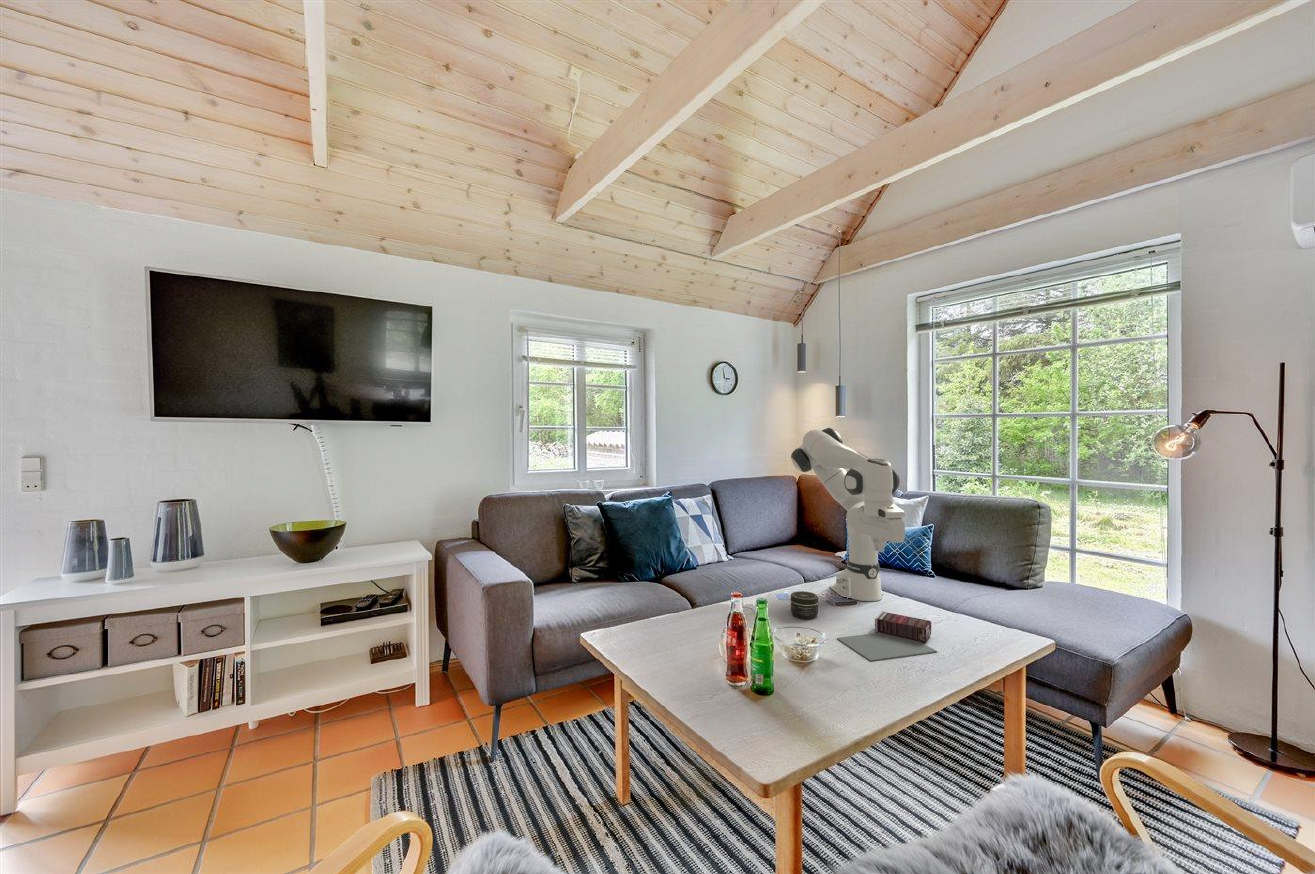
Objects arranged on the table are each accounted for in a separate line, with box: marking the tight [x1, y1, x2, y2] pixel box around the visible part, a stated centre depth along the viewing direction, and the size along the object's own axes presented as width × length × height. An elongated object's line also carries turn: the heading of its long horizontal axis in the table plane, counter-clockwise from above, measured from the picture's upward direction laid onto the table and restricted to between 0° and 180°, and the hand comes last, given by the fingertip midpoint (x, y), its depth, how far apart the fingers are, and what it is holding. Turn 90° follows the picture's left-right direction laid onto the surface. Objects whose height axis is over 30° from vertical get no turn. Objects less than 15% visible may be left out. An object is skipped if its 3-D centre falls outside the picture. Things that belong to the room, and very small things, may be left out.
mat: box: [836, 632, 938, 662], centre depth 167 cm, size 17×24×1 cm
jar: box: [790, 590, 819, 621], centre depth 194 cm, size 10×10×8 cm
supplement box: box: [874, 611, 932, 643], centre depth 176 cm, size 9×5×16 cm
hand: (879, 551), depth 170 cm, fingers closed
